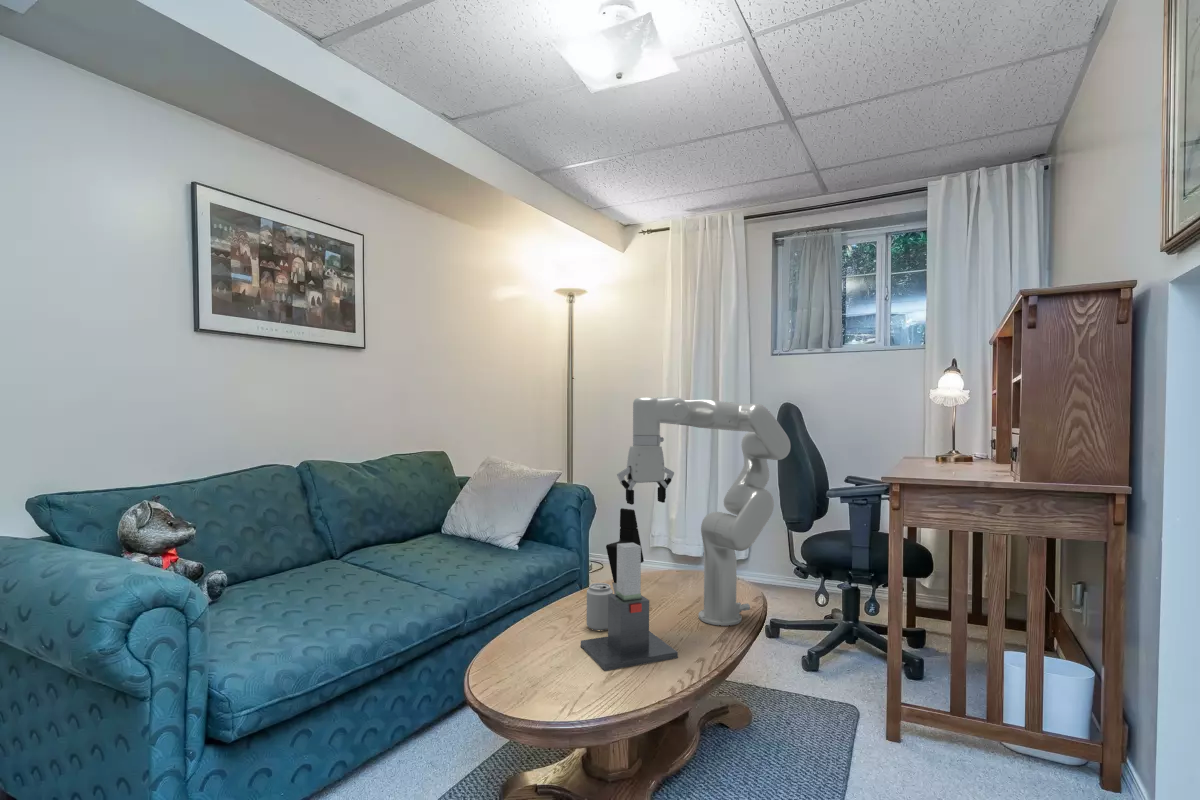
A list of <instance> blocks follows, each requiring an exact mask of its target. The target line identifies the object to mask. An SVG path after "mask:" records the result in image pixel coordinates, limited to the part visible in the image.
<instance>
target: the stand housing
mask: <svg viewBox="0 0 1200 800" xmlns="http://www.w3.org/2000/svg"><path fill="white" fill-rule="evenodd" d="M580 647H581V648H582V649H583V648H584V649H583V651H585V653H586V654H588V656H589V657H590V658H591V659H593V661H594V662H595V663H597V665H598V666H599V668H601V669H602V670H603V671H611V670H612V671H613V670H617V669H618V670H619V669H624V668H628V667H634V666H641V665H646V664H651V663H657V662H663V660H664V661H668V660H674V659H673V658H675V659H678V658H679V654H678V653H679V652H678V651H677V650H676V649H675V648H673V647H672V646H670V645H669V644H668V643H666V642H665V641H663V640H662V638H659V637H658V636H657V635H655V634H654V633H653V632H652V631H650V600H649V599H648V598H647V597H646V596H643V595H642V594H641V600H634V601H626V602H623V601H621V600H620V599H619V598H617V595H616V594H615V593H613V594H610V595H608V630H607V636H603V637H601V636H600V637H595V638H591V639H590V638H589V639H583V640H582V639H581V640H580Z"/></svg>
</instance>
